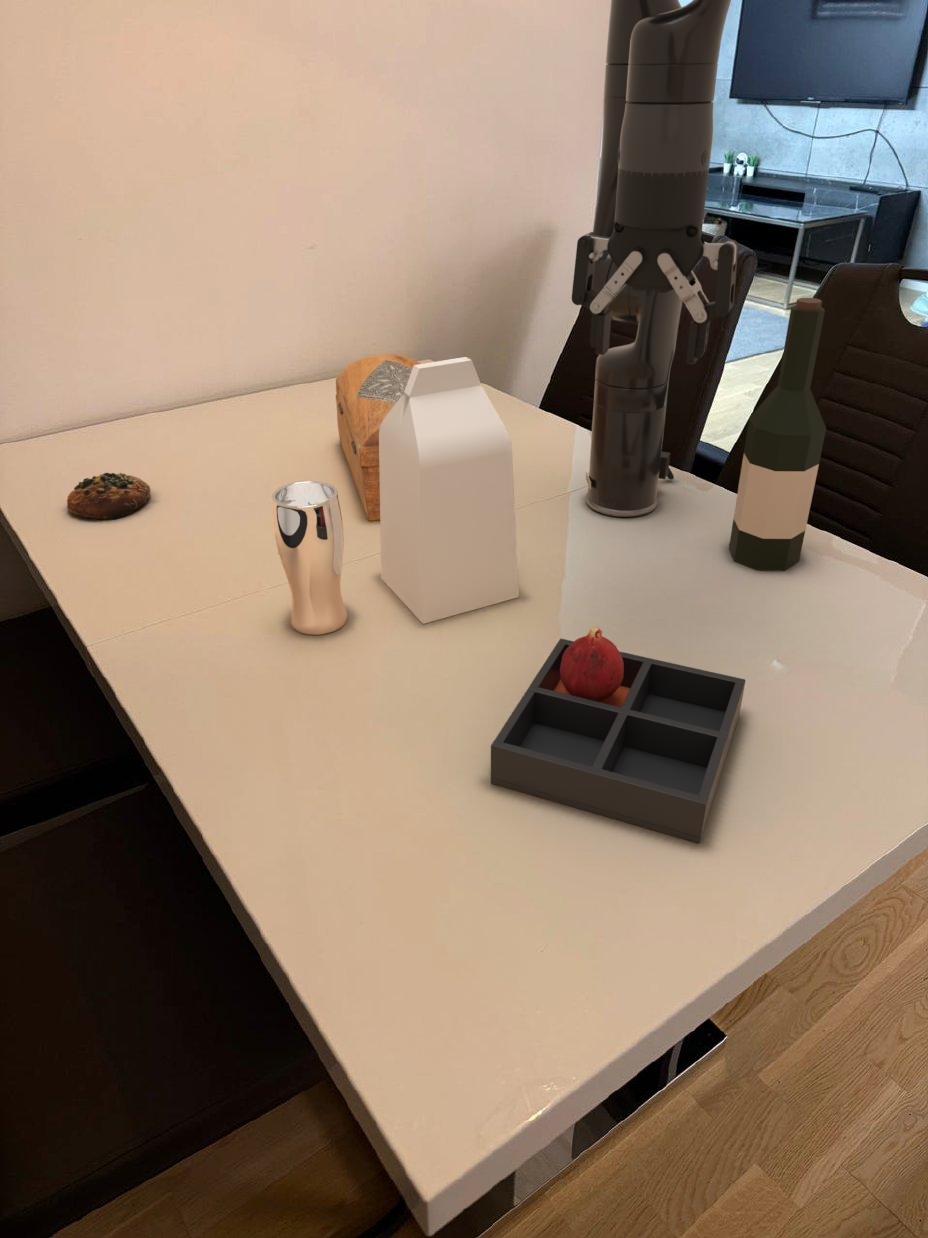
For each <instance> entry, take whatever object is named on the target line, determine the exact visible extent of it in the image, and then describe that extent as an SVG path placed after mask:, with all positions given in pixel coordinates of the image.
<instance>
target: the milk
mask: <svg viewBox="0 0 928 1238" xmlns="http://www.w3.org/2000/svg"><path fill="white" fill-rule="evenodd" d="M404 393H405V394H403V395H402V396H401V398H400V399H399V400H398V401H397V403H396V404H395V405H394V407H393V408H392V409H391V410H390V412H389V413H388V414H387V415H386V417H385V418H384V420H383V421H382V424H381V426H380V430H379V472H380V520H379V525H380V527H379V530H380V579H381V580H382V581H383V582H384V583H385V584H386V586H387V587H388V588H389V589H390V590H391V591H392V593H394V594H395V595H396V596H397V597H398V598H399V600H400V601H401V602H402V603H403V604H404V606H406V608H408V610H409V611H410V612H411V613H412V614H413V615H414V616H415V617H416V619H417V620H419V622H420V623H421V624H422V625H424V624H428V623H432V622H435V621H439V620H442V619H446V618H449V617H453V616H456V615H460V614H464V613H467V612H470V611H471V612H472V611H475V610H478V609H482V608H485V607H489V606H492V605H496V604H500V603H503V602H506V601H510V600H514V599H517V598H519V597H520V591H519V590H520V589H519V569H518V568H519V567H518V547H517V546H518V545H517V528H516V527H517V525H516V505H515V504H516V503H515V483H514V461H513V445H512V441H511V437H510V435H509V432H508V429H507V428H506V426H505V424H504V422H503V420H502V419H501V417H500V415H499V413H498V412H497V410H496V408H495V406H494V405H493V403H492V401H491V399H490V398H489V396H488V394H487V392H486V391H485V389H484V387H483V386H482V385H481V380H480V378H479V376H478V373H477V370H476V367H475V365H474V362H473V360H472V359H470V358H469V357H466V356H463V357H456V358H451V359H445V360H438V361H431V362H425V363H421V364H418V365H414V366H413V369H412V372H411V374H410V377H409V380H408V383H407V385H406V388H405V391H404Z"/></svg>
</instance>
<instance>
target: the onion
mask: <svg viewBox="0 0 928 1238" xmlns="http://www.w3.org/2000/svg"><path fill="white" fill-rule="evenodd" d="M602 634H603V630H602V629H601V628H599V627H597V626H594V627H593V628H590V629H589V632H588V633H587V635H585V636H581V637H578V638H577V639H575V640H573V641H574V642H573V643H572V644H571V645H570V646H569V647H568V648H567V649H566V650H565V652H564V654H563V656H562V660H561V665H560V677H561V680H562V683H563V685H564V687H565V689H566V690H567V691H568V692H569V693H570V694H571V695H572V696H576V697H580V698H584V699H588V700H593V701H597V702H601V701H603V700H605V699H606V698H608V697H610V696H612V695H613V693H614V692H615V691H616V690H617V689H618V688H619V686H620V685H621V683H622V680H623V674H624V663H623V659H622V656H621V654H620V652H621V651H620V650H619V649H618V647H617V645H615V644H614V643H613V641H611V640H610V639H608V638H607V637H605V636H603V635H602ZM619 651H620V652H619Z"/></svg>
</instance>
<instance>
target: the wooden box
mask: <svg viewBox="0 0 928 1238" xmlns="http://www.w3.org/2000/svg"><path fill="white" fill-rule="evenodd" d="M418 364H422V363H421V362H419V361H417V360H416V359H414V358H412V357H409V356H407V355H402V354H377V355H372V356H371V355H370V356H366V357H363V358H361V359H358V360H356V361H354V362H352V363H349V365H347V366H346V367H345V368H344V369H343V370H342V371H341V372H340V373H339V374H338V376H337V377H336V379H335V392H336V393H335V404H336V419H337V429H338V431H337V432H338V438H339V443H340V445H341V448H342V452H343V454H344V457H345V459H346V462H347V464H348V468H349V470H350V473H351V477H352V479H353V483H354V485H355V488H356V491H357V494H358V497H359V500H360V503H361V506H362V509H363V512H364V515H365V517H366V519H367V520H368V521H369V522H370V521H371V522H372V521H380V472H379V430H380V426H381V424H382V421H383V420H384V418H385V417H386V415H387V414H388V413H389V412H390V410H391V409H392V408H393V407H394V405H395V404H396V403H397V401H398V400H399V399H400V398H401V396H402V395H403V394H405V393H404V391H405V388H406V385H407V383H408V380H409V377H410V374H411V372H412V369H413V366H414V365H418Z"/></svg>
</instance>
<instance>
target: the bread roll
mask: <svg viewBox="0 0 928 1238" xmlns="http://www.w3.org/2000/svg"><path fill="white" fill-rule="evenodd" d="M150 496H151V486H150V485H149V484H148V482H146V481H144V480H142V479H141V478H140V477H137V476H134V475H129V474H126V473H123V472H120V473H115V472H111V473H110V472H104V473H101V474H99V475H97V476H96V475H93V476H92V477H91V478H89V477H86V478H83V480H82V481H79V482H78V483H77V485H75V486H74V487H73V490H71V492H69V494H68V495H67V499H66V503H67V504H66V509H67V510H68V511H69V512H70V513H71V514H74V515H75V516H79V517H82V518H90V519H95V520H98V519H102V520H107V521H112V520H115V519H118V518H122V517H123V516H126V515H129V514H131V513H133V512H135V510H139V509H140V508H142V506H144V505H145V504H146V503H147V500H148V498H150Z"/></svg>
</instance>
